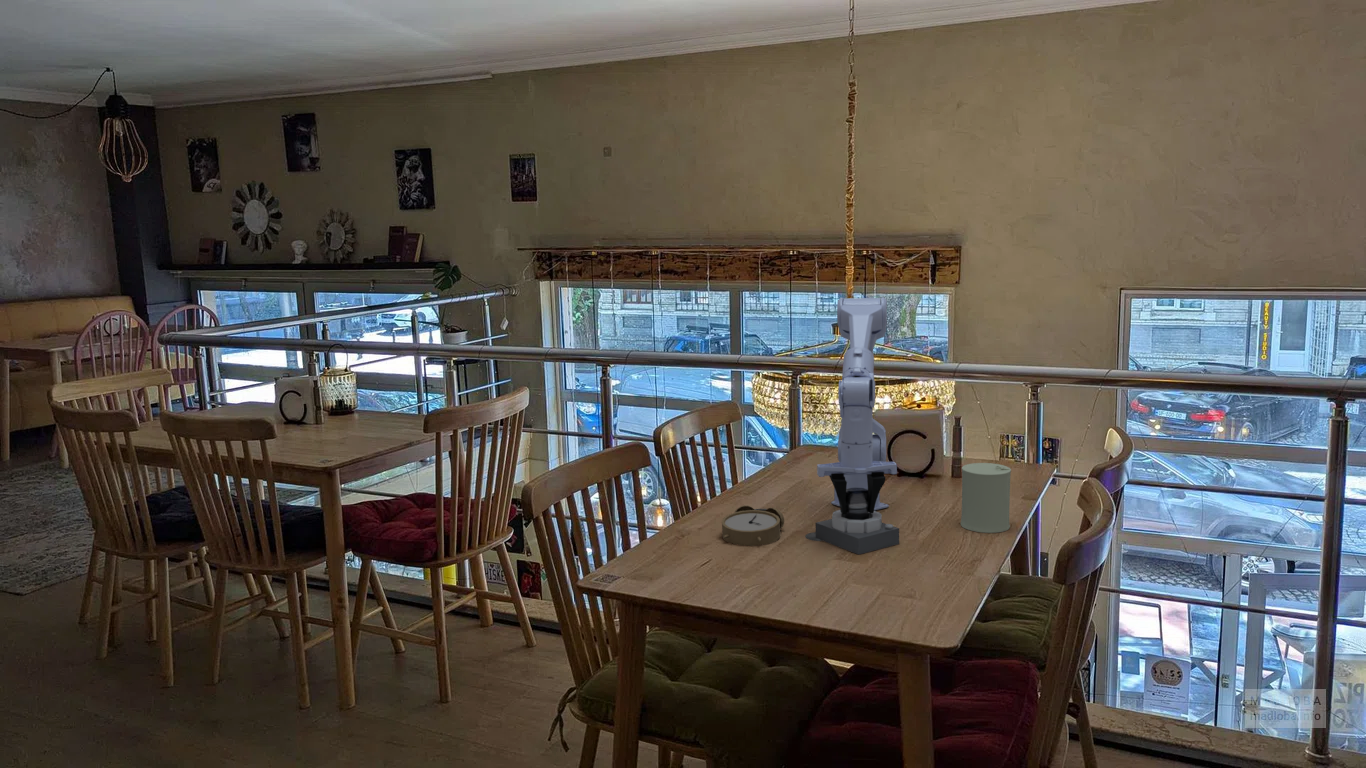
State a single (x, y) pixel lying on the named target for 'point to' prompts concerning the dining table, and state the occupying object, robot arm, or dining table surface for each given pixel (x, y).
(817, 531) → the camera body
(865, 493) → the lens
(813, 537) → the lens cap
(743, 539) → the alarm clock
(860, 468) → the robot arm
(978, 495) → the can
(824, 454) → the dining table surface
